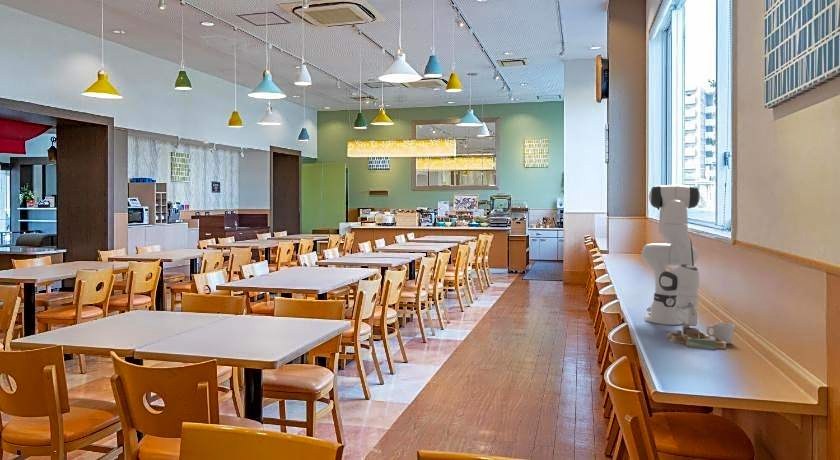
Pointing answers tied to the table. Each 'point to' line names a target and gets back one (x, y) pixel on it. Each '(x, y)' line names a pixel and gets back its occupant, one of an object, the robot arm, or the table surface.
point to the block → (691, 332)
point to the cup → (722, 331)
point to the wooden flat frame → (697, 340)
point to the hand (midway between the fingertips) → (685, 332)
